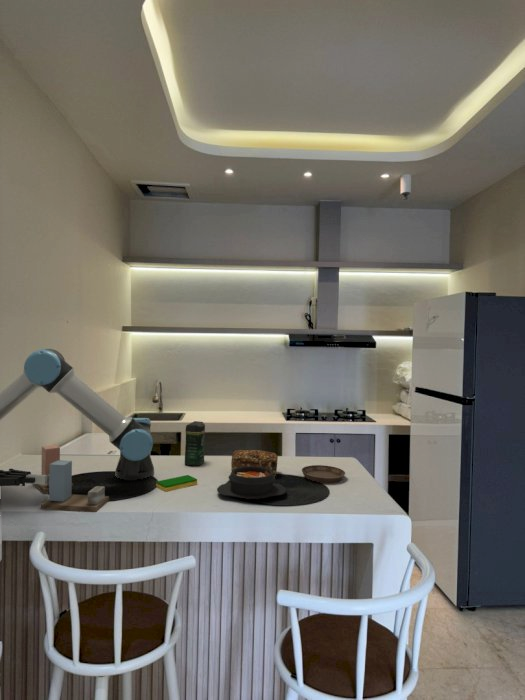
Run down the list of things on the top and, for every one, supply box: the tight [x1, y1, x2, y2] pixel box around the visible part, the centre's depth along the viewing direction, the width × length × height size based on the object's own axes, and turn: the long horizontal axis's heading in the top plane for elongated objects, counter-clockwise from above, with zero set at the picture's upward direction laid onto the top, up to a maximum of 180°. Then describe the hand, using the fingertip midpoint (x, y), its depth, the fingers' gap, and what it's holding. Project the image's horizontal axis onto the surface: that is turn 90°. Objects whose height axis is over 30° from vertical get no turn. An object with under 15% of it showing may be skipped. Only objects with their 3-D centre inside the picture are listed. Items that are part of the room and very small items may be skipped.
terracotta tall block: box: [41, 444, 61, 475], centre depth 172 cm, size 5×5×12 cm
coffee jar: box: [184, 420, 206, 466], centre depth 203 cm, size 10×8×19 cm
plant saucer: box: [301, 464, 346, 484], centre depth 187 cm, size 18×18×3 cm
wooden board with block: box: [39, 485, 110, 513], centre depth 151 cm, size 18×10×6 cm, turn 86°
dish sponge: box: [156, 474, 198, 492], centre depth 173 cm, size 7×14×2 cm, turn 130°
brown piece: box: [35, 475, 75, 495], centre depth 171 cm, size 18×10×6 cm, turn 41°
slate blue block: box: [48, 459, 73, 502], centre depth 152 cm, size 5×5×12 cm
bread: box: [230, 449, 279, 477], centre depth 189 cm, size 19×11×10 cm, turn 86°
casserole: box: [216, 466, 287, 500], centre depth 165 cm, size 25×19×8 cm
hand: (46, 479), depth 152 cm, fingers closed
